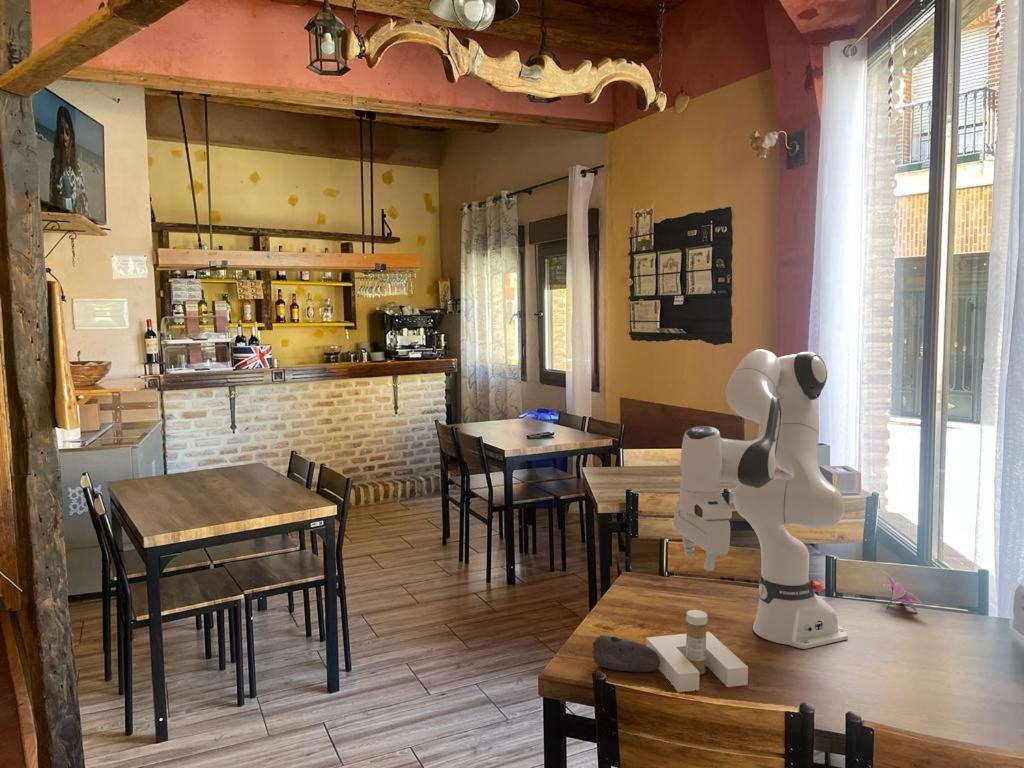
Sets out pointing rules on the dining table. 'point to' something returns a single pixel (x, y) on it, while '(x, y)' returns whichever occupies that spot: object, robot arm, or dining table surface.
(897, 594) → the lily
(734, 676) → the slotted plate
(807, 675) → the dining table surface
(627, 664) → the perforated stone tool
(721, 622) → the dining table surface
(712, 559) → the robot arm
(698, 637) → the sprinkles bottle
